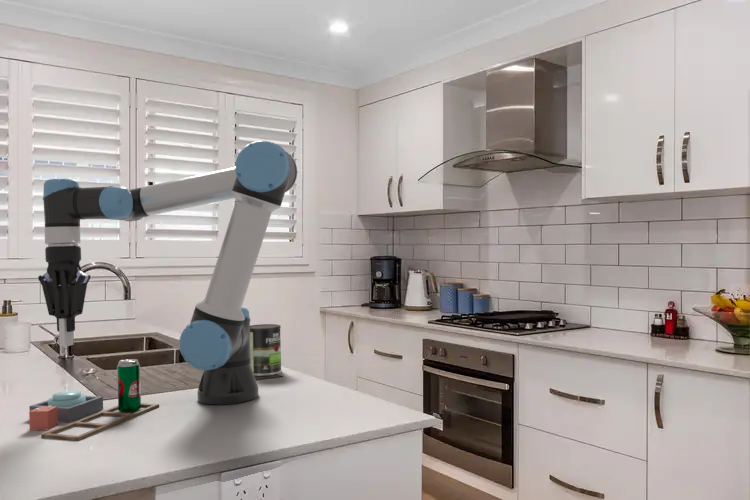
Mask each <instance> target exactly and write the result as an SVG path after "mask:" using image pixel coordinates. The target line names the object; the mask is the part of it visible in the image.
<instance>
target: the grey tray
mask: <svg viewBox="0 0 750 500" xmlns="http://www.w3.org/2000/svg"><path fill="white" fill-rule="evenodd" d="M85 396H86V401H85V402H82V403H79V404H77V405H74V406H71V407H57V411H58V422H64V423H70V422H74V421H77V420H79V419H80V418H81V419H82V418H85V417H87V416H90V415H93V414H95V413H98V412H100V411H103V410H104V397H103V396H98V395H97V396H95V395H85ZM38 407H48V399H47V400H44V401H41V402H38V403H36V404H31V405H29V407H28V408H29V411H32V410H34V409H36V408H38ZM52 407H53V406H52ZM99 410H100V411H99Z"/></svg>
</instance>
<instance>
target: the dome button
mask: <svg viewBox="0 0 750 500" xmlns="http://www.w3.org/2000/svg"><path fill="white" fill-rule="evenodd" d="M86 396H87V395H85V394H84V393H82V392H81V391H79V390H65V391H60V392H55V393H54V394H52V397H50V398H48V399H47V400H48V406H57V407H71V406H74V405H77V404H79V403H82V402H85V401H86Z"/></svg>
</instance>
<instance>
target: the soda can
mask: <svg viewBox="0 0 750 500" xmlns="http://www.w3.org/2000/svg"><path fill="white" fill-rule="evenodd" d="M116 374H117V375H116V377H117V382H116V383H117V406H118V410H117V411H119V413H135V412H137V411H140V410H141V408H142V407H141V403H142V400H141V398H142V397H141V396H142V394H141V392H142V391H141V365H140V362H139V360H138V359H136V358H128V359H121V360H119V361H118V364H117V366H116Z"/></svg>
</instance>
